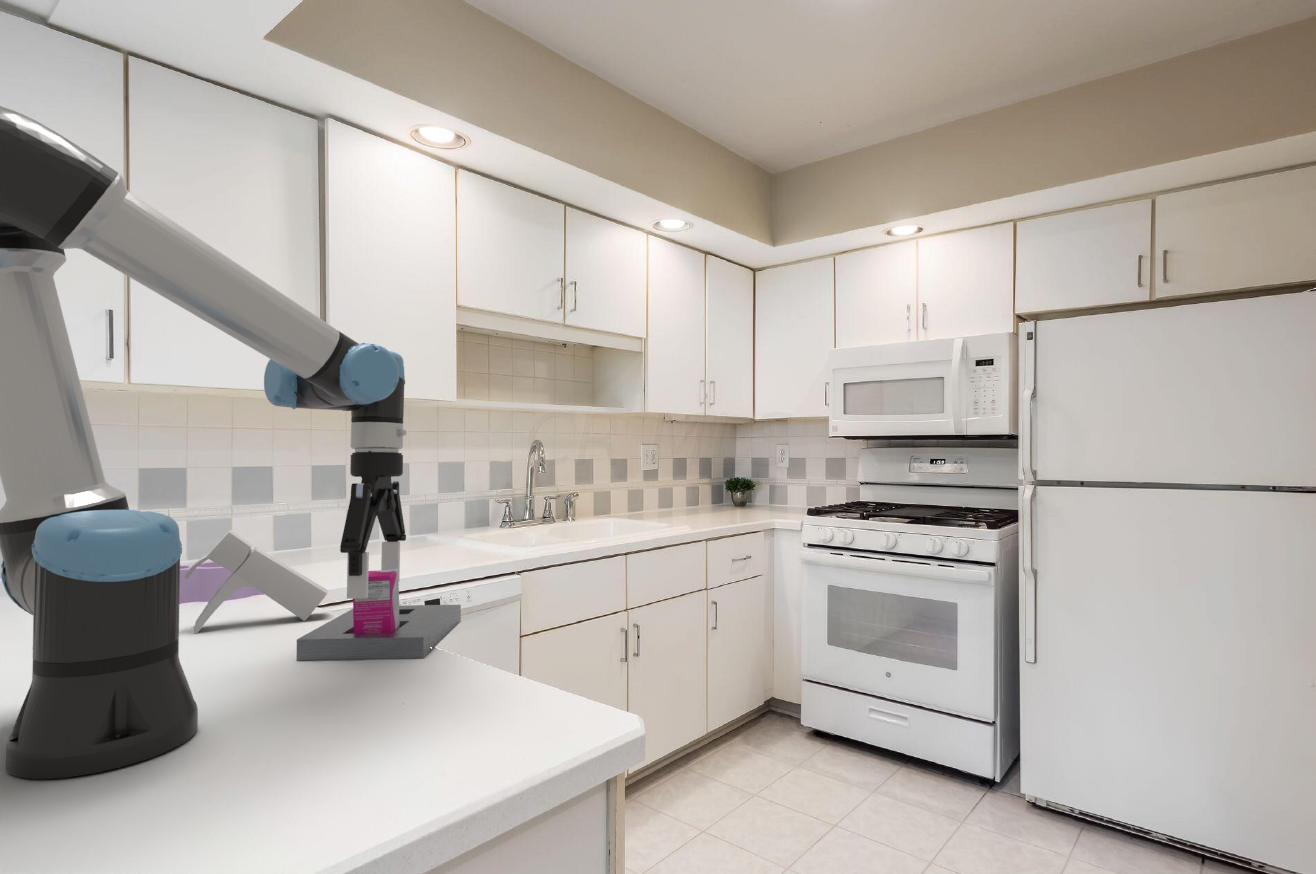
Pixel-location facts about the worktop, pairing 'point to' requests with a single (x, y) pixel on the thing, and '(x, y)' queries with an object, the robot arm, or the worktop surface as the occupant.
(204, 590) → the clip
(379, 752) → the worktop surface
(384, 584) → the supplement box
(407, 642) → the socket plate
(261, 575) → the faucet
